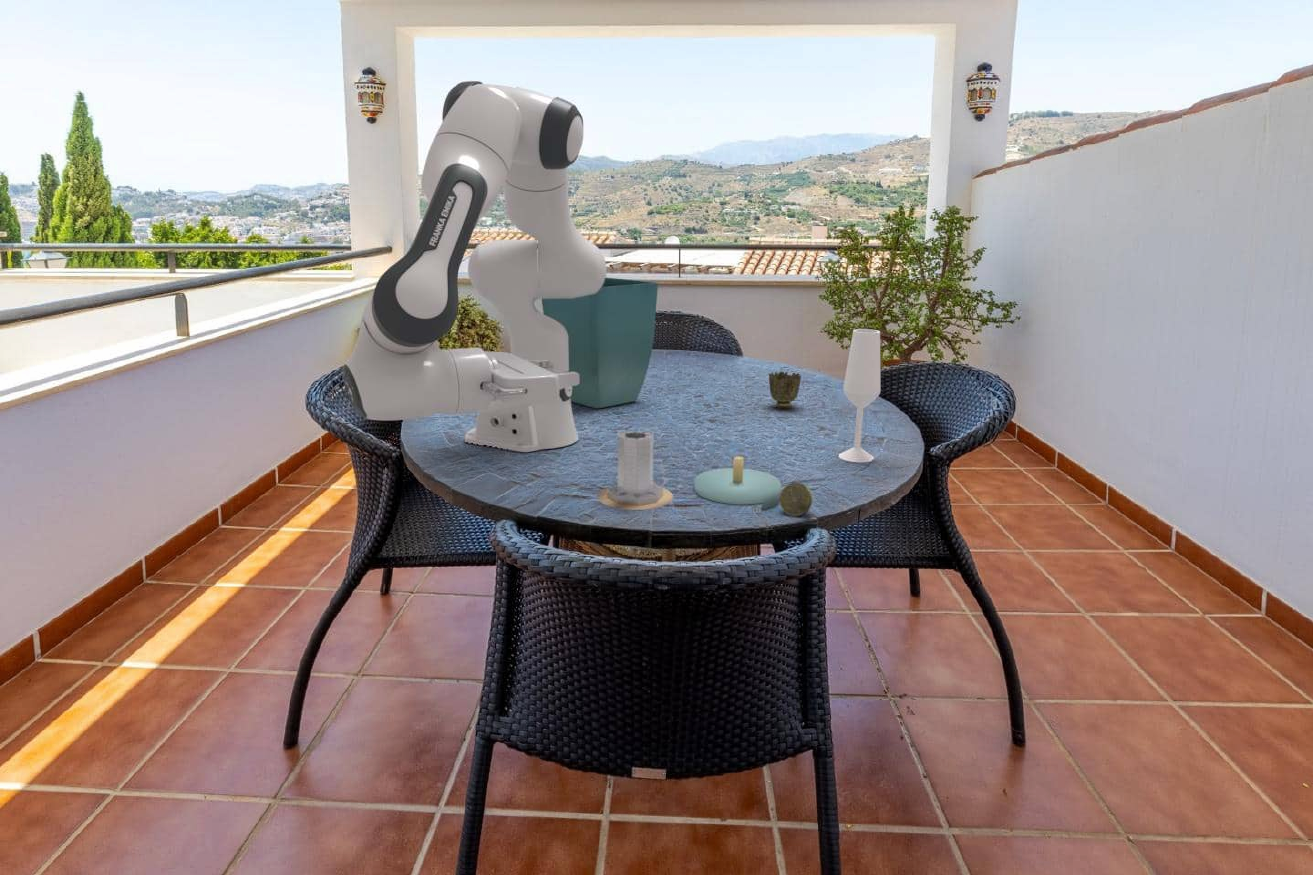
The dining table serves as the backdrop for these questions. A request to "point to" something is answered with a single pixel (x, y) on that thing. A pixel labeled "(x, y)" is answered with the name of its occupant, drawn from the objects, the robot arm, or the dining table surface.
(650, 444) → the sleeve
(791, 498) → the lime
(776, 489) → the hub
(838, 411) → the dining table surface
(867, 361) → the champagne flute
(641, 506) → the stand
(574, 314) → the flower pot
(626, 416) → the dining table surface
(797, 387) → the cup
